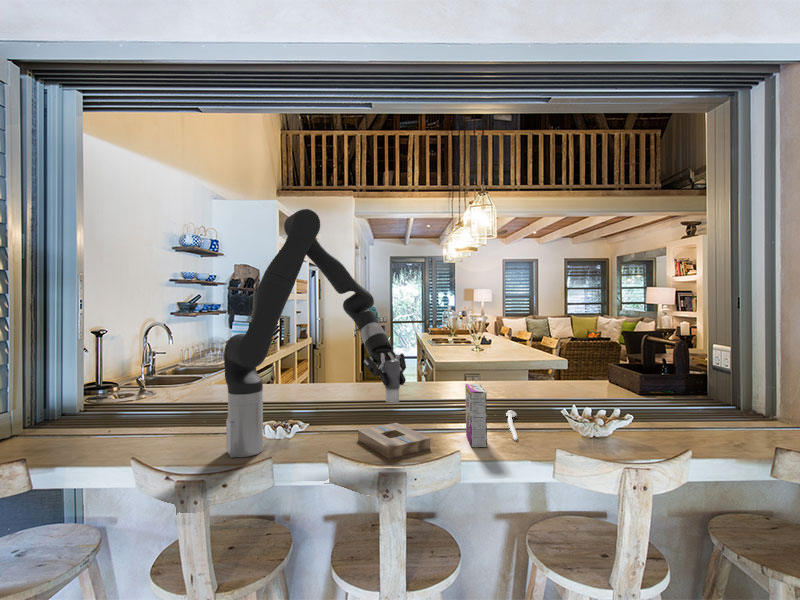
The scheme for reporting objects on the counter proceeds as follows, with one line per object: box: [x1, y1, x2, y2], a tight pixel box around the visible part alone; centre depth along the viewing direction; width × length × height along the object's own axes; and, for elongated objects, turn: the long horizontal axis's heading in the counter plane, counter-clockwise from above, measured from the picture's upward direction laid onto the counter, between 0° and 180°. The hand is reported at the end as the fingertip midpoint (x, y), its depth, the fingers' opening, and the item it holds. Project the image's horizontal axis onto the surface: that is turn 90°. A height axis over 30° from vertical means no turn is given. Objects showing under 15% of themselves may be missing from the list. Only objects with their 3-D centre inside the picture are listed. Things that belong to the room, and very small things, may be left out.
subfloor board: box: [357, 422, 431, 460], centre depth 122 cm, size 14×18×3 cm
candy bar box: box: [464, 383, 488, 448], centre depth 124 cm, size 11×5×16 cm, turn 179°
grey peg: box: [384, 360, 401, 404], centre depth 122 cm, size 4×4×12 cm
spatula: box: [505, 409, 519, 441], centre depth 138 cm, size 28×4×3 cm, turn 170°
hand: (396, 384), depth 121 cm, fingers closed on grey peg, 4 cm apart
